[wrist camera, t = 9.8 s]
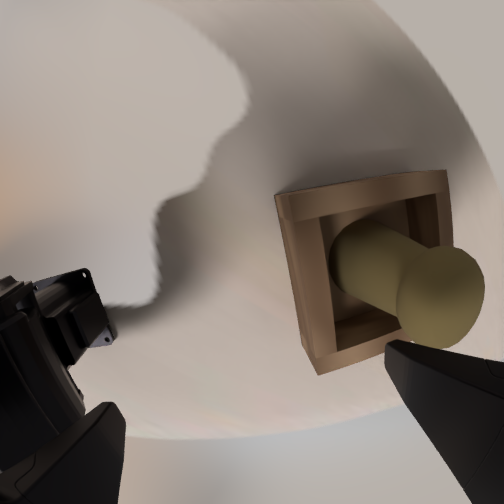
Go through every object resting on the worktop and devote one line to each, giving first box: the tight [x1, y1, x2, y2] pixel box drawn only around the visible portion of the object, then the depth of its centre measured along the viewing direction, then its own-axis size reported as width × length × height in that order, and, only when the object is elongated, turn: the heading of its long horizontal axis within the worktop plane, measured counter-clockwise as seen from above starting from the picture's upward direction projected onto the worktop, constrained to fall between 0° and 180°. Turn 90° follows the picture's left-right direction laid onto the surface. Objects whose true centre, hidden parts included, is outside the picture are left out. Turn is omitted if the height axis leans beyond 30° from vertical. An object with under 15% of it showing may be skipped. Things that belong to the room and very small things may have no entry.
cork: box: [328, 219, 485, 349], centre depth 15 cm, size 6×6×11 cm
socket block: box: [274, 170, 454, 375], centre depth 19 cm, size 12×12×4 cm
